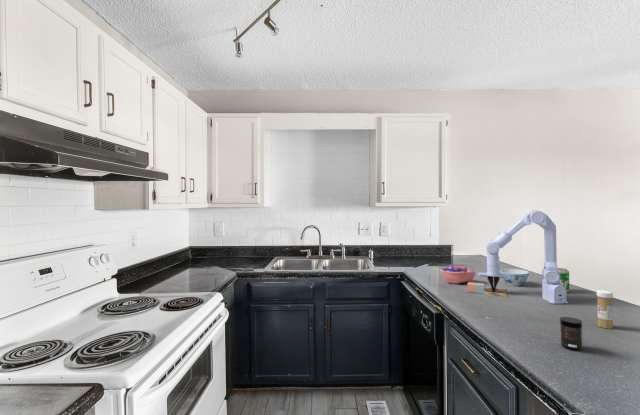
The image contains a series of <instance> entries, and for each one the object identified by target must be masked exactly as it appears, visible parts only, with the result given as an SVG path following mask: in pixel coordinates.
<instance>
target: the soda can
mask: <svg viewBox="0 0 640 415" xmlns="http://www.w3.org/2000/svg"><path fill="white" fill-rule="evenodd" d="M558 273H559V274H560V280H559V281H560V283H561V285H562V286H564V287H565V288H566V294H568V292H570V291H571V288H570V286H571V285H570V271H569V270H568V269H567V268H565V267H564V268H563V267H558Z"/></svg>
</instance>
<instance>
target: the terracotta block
mask: <svg viewBox="0 0 640 415" xmlns="http://www.w3.org/2000/svg"><path fill="white" fill-rule="evenodd" d="M476 283H477V282H471V281H470V282H468V283H466V284H467V286H466V287H467V288H466V289H467V293H468V292H476Z"/></svg>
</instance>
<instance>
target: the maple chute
mask: <svg viewBox="0 0 640 415" xmlns="http://www.w3.org/2000/svg"><path fill="white" fill-rule="evenodd" d="M467 293H470V294H480V295H484V296H492V297H503V298H508V296H509V294H508V289H507V288H497V287H496V290H495V292H492V288H491V287H485V291H484V293H476V292H467Z"/></svg>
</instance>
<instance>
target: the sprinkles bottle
mask: <svg viewBox="0 0 640 415" xmlns="http://www.w3.org/2000/svg"><path fill="white" fill-rule="evenodd" d="M613 295H614V294H613V292H612V291H610V290H609V291H608V290H604V289H603V290H602V289H601V290H600V289H598V290H596V296H597V297H596V298H597V302H596V303H597V309H596V311H597V326H598V328H599V327H600V328H602V329H607V330H609V329H614V323H613V322H614V320H613V319H614V314H613V313H614V306H613V297H614V296H613Z"/></svg>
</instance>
